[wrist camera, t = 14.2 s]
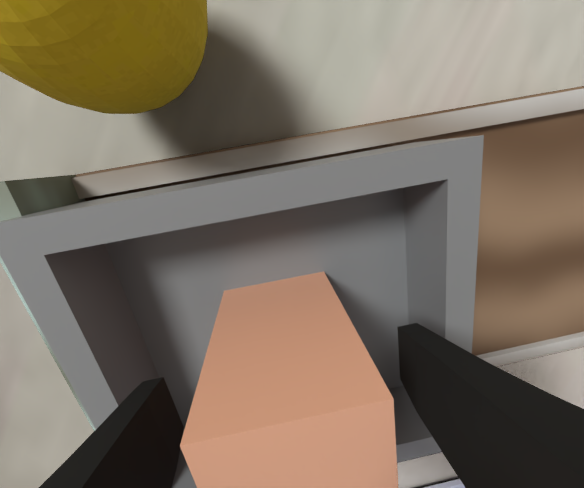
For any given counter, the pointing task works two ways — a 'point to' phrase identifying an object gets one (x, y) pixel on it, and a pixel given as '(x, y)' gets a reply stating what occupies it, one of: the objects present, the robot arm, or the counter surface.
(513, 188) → the track
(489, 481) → the robot arm
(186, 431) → the block
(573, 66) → the counter surface
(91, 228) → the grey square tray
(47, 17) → the lemon
